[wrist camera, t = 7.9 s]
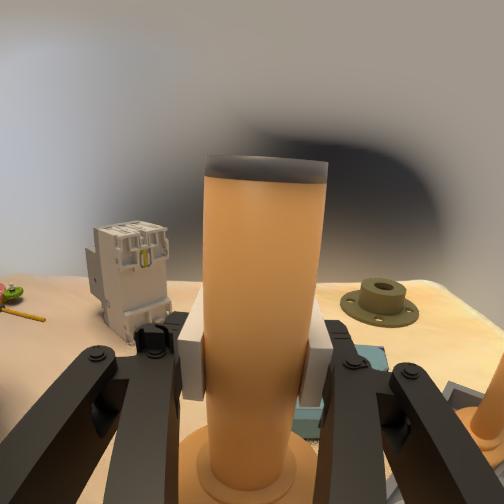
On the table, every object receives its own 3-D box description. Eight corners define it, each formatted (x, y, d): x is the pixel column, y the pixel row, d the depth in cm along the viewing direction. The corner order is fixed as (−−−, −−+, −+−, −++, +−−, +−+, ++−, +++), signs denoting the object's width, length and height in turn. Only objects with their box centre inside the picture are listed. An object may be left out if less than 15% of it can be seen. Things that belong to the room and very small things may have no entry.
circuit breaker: (126, 298, 53) (119, 215, 49) (173, 328, 45) (168, 227, 41) (90, 309, 48) (79, 222, 44) (130, 345, 39) (118, 237, 35)
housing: (437, 626, 4) (465, 617, 3) (306, 568, 12) (316, 556, 11) (519, 434, 20) (533, 411, 19) (438, 404, 28) (448, 380, 27)
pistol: (374, 361, 39) (409, 438, 24) (261, 358, 39) (254, 444, 25) (381, 335, 38) (423, 409, 23) (263, 331, 38) (256, 415, 24)
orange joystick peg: (238, 571, 8) (271, 154, 4) (146, 473, 14) (94, 158, 9) (343, 485, 14) (436, 178, 9) (248, 421, 19) (265, 158, 14)
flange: (348, 268, 62) (337, 294, 48) (419, 279, 56) (427, 309, 43) (345, 289, 63) (333, 320, 50) (414, 300, 57) (420, 335, 44)
